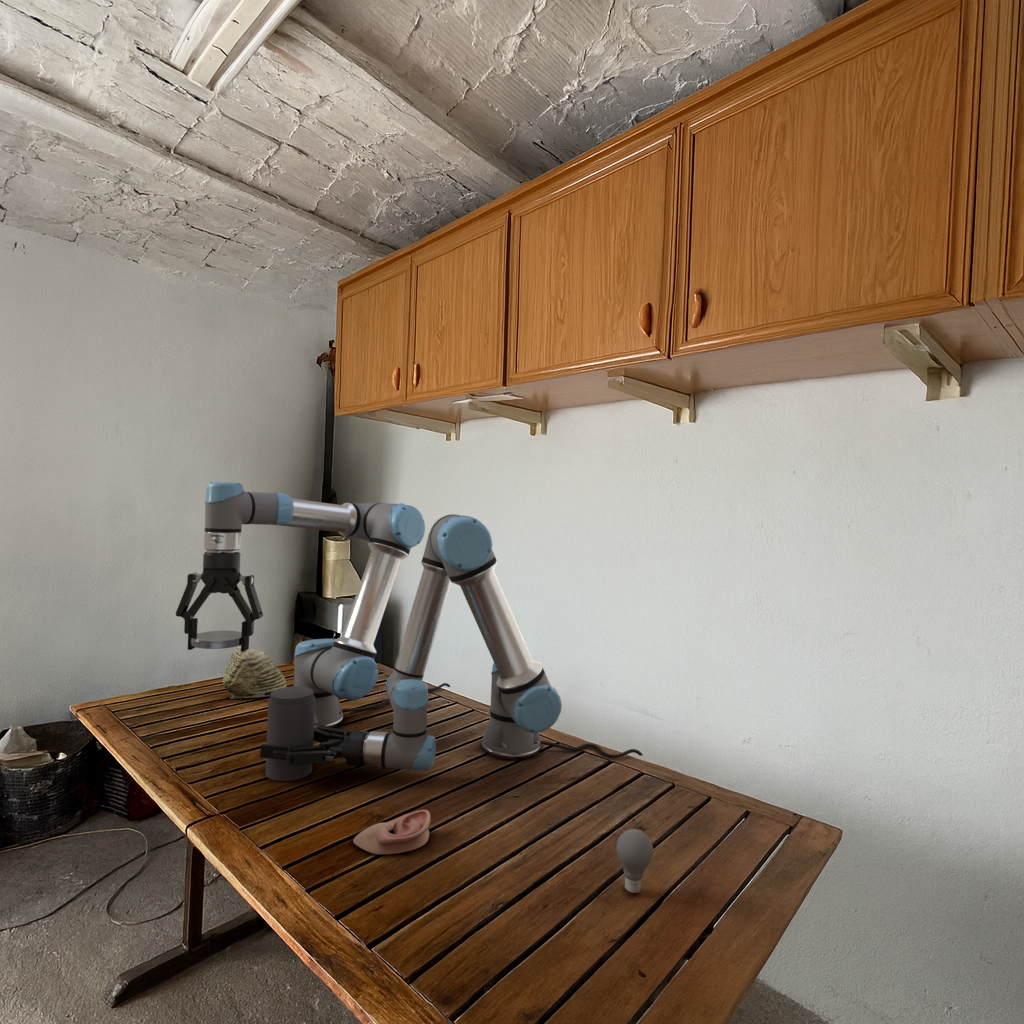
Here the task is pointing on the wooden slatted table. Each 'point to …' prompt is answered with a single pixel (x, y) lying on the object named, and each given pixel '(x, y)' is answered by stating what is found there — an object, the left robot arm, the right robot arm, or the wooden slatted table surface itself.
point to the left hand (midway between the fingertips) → (218, 649)
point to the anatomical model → (396, 834)
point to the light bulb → (634, 857)
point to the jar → (290, 729)
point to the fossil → (252, 674)
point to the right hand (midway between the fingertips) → (272, 741)
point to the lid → (216, 639)
